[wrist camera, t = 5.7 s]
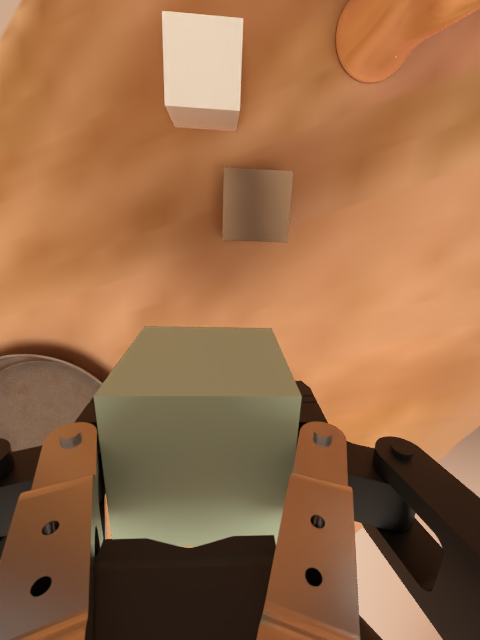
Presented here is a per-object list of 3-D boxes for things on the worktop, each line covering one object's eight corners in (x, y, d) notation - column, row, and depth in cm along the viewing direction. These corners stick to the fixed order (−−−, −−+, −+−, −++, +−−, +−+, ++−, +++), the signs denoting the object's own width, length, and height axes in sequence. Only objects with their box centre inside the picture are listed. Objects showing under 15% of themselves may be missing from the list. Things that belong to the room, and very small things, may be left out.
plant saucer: (-74, 374, 30) (-104, 390, 27) (94, 319, 30) (80, 330, 27) (20, 502, 36) (3, 527, 33) (163, 458, 35) (158, 480, 32)
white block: (238, 58, 24) (243, 18, 19) (236, 131, 25) (240, 110, 21) (173, 53, 24) (162, 10, 19) (174, 127, 25) (164, 105, 20)
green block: (271, 328, 12) (301, 396, 8) (264, 432, 14) (285, 543, 9) (144, 326, 12) (93, 395, 7) (151, 433, 14) (113, 548, 9)
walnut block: (280, 179, 27) (293, 171, 22) (276, 238, 28) (287, 242, 24) (223, 176, 26) (224, 167, 22) (221, 236, 28) (222, 240, 23)
